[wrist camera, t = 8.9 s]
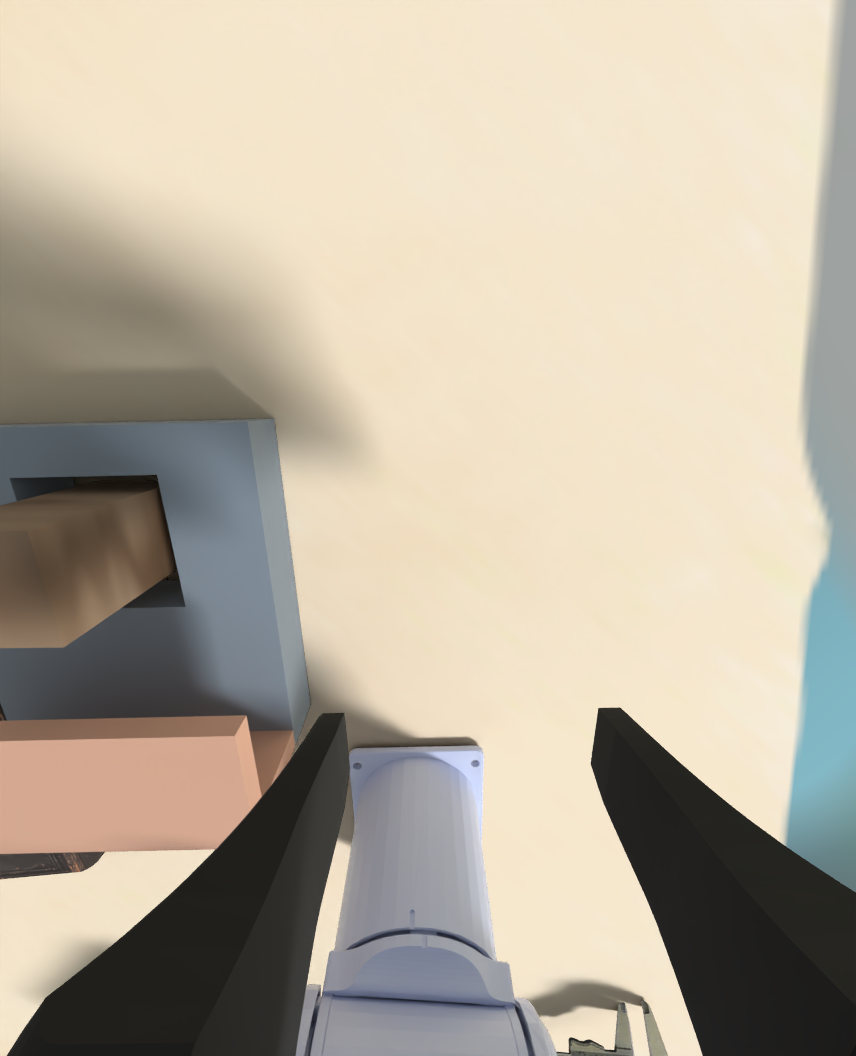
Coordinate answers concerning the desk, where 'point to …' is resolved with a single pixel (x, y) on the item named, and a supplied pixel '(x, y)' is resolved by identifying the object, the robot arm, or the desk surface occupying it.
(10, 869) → the hardcover book
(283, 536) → the socket block
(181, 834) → the salmon pink block
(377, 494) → the desk surface
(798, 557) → the desk surface
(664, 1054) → the caliper
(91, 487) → the walnut peg
